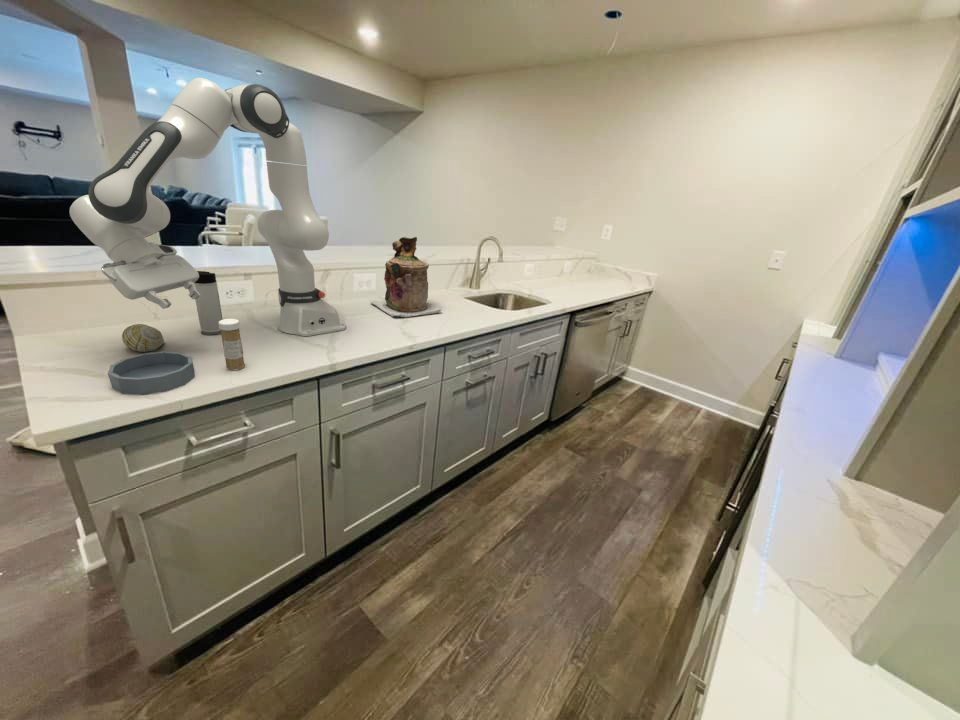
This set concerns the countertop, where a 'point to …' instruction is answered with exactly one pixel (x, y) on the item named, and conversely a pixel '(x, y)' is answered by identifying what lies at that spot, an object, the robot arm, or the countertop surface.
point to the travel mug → (208, 303)
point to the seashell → (142, 338)
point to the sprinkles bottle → (232, 343)
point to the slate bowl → (151, 373)
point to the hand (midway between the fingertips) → (183, 302)
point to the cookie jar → (406, 282)
